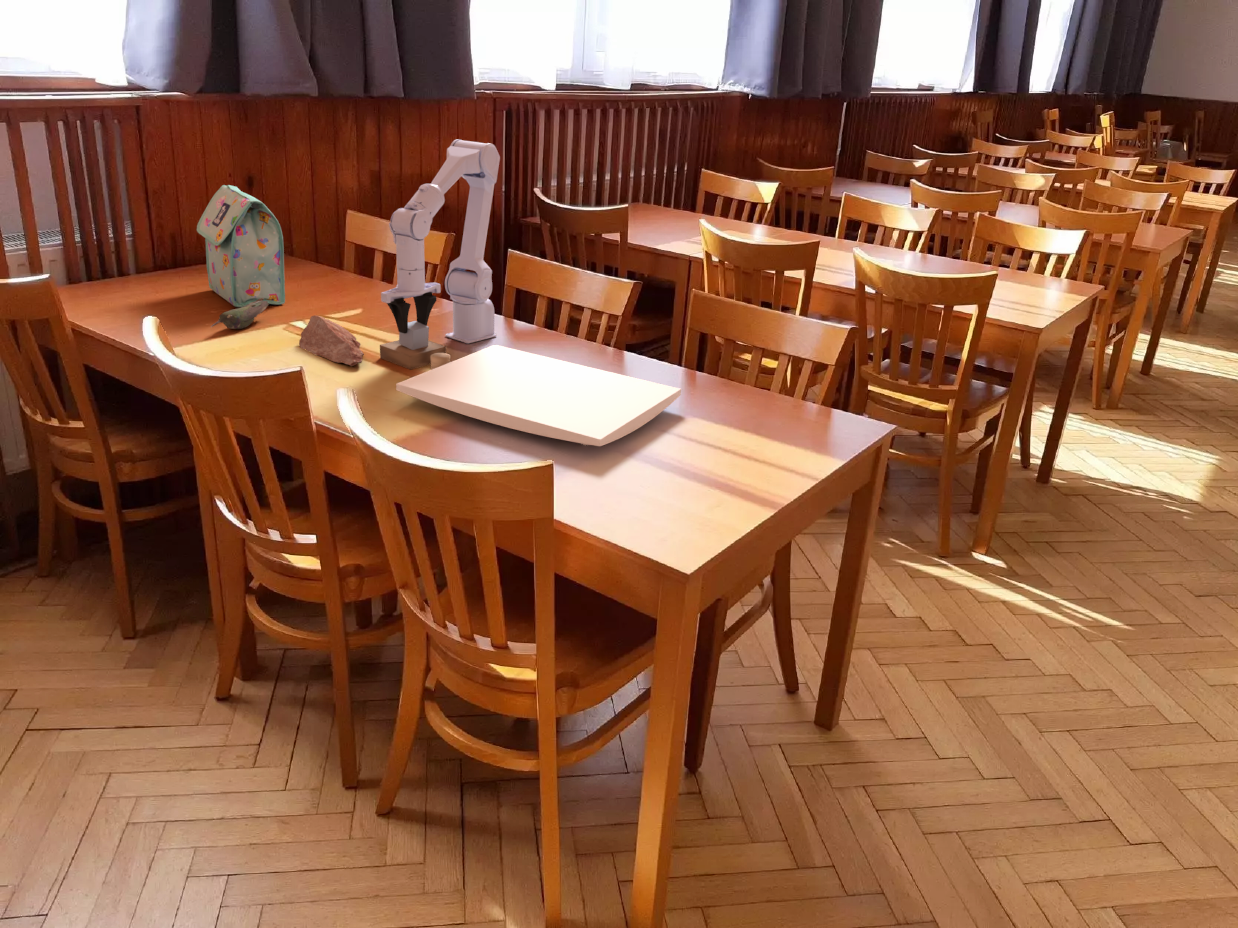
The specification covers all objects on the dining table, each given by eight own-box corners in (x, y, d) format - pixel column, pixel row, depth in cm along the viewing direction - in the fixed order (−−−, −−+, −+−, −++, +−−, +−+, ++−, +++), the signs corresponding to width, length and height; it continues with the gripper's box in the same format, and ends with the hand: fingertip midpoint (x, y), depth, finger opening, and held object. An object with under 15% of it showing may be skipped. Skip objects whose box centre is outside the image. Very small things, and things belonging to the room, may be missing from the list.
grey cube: (414, 339, 216) (415, 320, 214) (428, 346, 213) (428, 326, 211) (399, 343, 212) (399, 324, 210) (412, 350, 210) (413, 330, 208)
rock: (337, 367, 203) (367, 329, 204) (287, 340, 219) (315, 305, 220) (370, 394, 210) (398, 357, 212) (320, 365, 226) (346, 331, 228)
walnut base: (416, 349, 221) (415, 336, 219) (446, 359, 215) (445, 346, 214) (380, 358, 213) (379, 344, 212) (410, 369, 208) (409, 355, 206)
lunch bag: (200, 290, 254) (188, 183, 243) (264, 284, 263) (255, 181, 252) (227, 312, 238) (215, 199, 227) (294, 305, 247) (285, 196, 236)
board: (679, 411, 196) (681, 388, 194) (598, 464, 170) (600, 439, 168) (494, 365, 215) (494, 344, 213) (396, 406, 189) (396, 383, 187)
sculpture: (203, 336, 220) (200, 314, 218) (261, 316, 236) (260, 296, 234) (219, 339, 218) (216, 317, 216) (277, 319, 235) (275, 299, 233)
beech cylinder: (441, 374, 206) (441, 351, 204) (454, 379, 204) (454, 356, 202) (426, 378, 203) (426, 355, 201) (439, 383, 201) (439, 360, 199)
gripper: (425, 259, 213) (426, 320, 219) (370, 268, 203) (373, 332, 208) (446, 265, 209) (447, 327, 215) (392, 275, 199) (394, 339, 204)
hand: (412, 330), depth 211 cm, fingers open, 5 cm apart
